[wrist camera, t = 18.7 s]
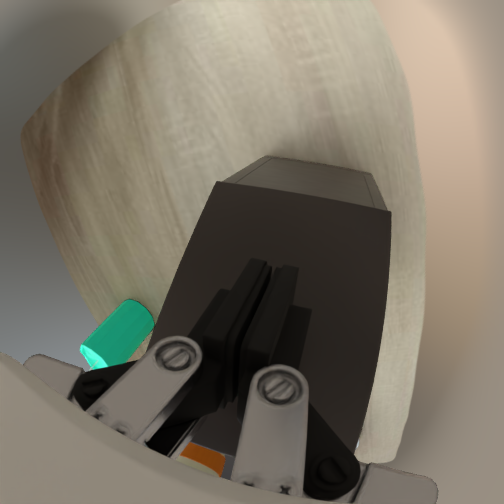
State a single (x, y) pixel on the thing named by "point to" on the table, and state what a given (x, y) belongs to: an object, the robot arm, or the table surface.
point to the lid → (306, 292)
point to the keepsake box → (311, 180)
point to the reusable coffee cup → (202, 459)
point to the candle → (118, 336)
